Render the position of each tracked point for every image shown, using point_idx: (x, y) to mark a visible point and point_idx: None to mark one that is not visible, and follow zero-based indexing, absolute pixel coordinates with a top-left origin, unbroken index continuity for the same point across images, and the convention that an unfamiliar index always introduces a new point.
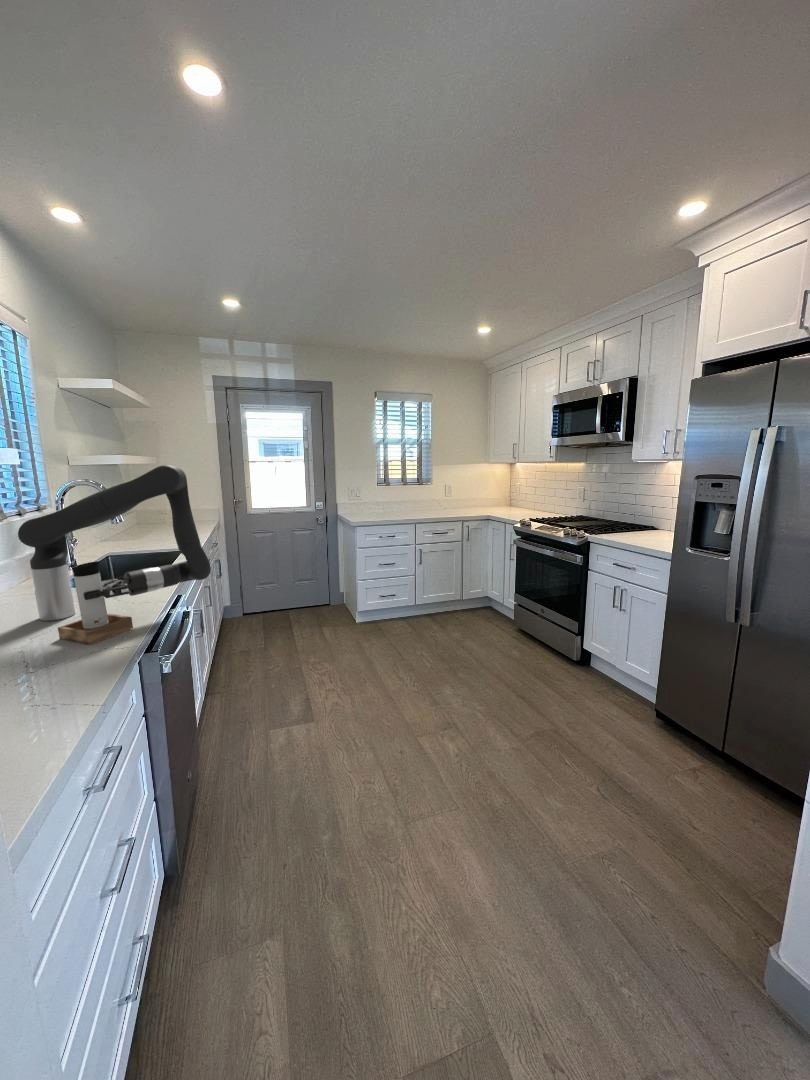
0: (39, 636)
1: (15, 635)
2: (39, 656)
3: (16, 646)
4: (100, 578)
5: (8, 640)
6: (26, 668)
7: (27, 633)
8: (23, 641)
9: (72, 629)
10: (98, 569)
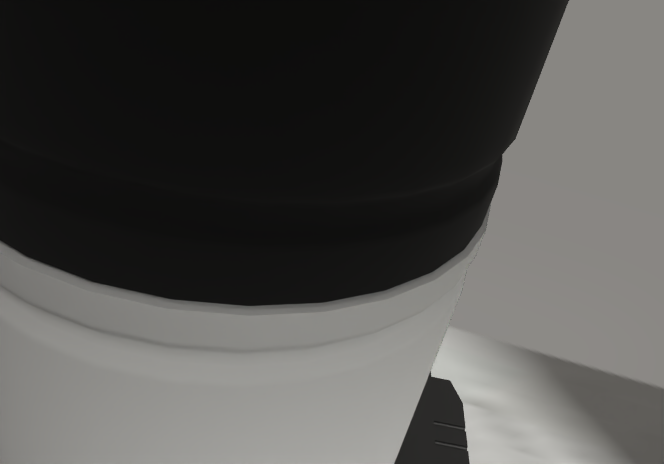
0: (501, 441)
1: (618, 395)
2: None
3: None
4: (5, 391)
5: (548, 355)
6: None
7: (616, 433)
8: (472, 375)
9: None
10: (10, 155)
